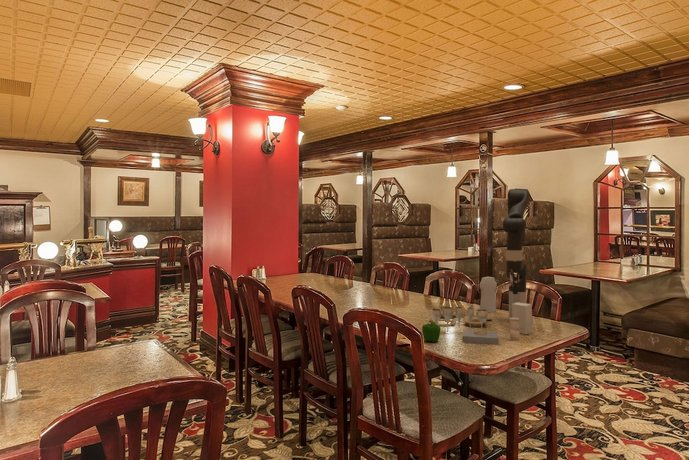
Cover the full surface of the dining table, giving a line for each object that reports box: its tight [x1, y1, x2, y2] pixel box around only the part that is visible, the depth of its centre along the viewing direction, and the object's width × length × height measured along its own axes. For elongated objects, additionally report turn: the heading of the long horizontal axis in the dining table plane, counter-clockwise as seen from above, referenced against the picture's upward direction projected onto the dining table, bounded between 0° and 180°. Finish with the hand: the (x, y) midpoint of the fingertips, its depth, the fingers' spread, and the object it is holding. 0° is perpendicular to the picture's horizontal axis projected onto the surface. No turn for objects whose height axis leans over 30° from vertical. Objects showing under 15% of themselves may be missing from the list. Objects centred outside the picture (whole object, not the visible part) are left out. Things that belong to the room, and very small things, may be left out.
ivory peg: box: [509, 318, 520, 341], centre depth 220 cm, size 4×4×10 cm
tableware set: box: [428, 307, 494, 328], centre depth 258 cm, size 35×29×4 cm
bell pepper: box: [421, 321, 441, 343], centre depth 219 cm, size 8×8×10 cm
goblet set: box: [431, 306, 489, 335], centre depth 233 cm, size 28×6×13 cm, turn 82°
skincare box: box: [512, 302, 534, 335], centre depth 232 cm, size 8×6×15 cm
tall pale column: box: [479, 276, 498, 314], centre depth 279 cm, size 11×4×22 cm, turn 91°
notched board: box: [462, 329, 499, 345], centre depth 220 cm, size 12×16×3 cm
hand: (514, 292), depth 220 cm, fingers open, 8 cm apart
